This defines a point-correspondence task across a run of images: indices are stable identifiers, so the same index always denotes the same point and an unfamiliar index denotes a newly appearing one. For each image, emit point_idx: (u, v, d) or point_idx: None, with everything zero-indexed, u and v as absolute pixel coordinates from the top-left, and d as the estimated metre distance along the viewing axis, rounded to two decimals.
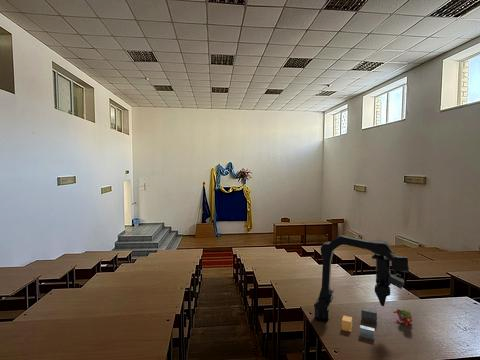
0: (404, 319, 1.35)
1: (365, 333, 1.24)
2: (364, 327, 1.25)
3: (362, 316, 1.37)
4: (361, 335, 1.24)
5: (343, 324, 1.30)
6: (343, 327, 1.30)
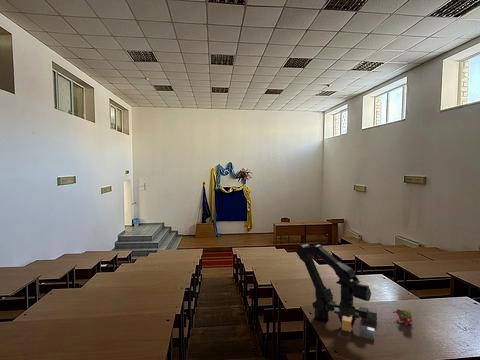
0: (404, 319, 1.35)
1: (365, 333, 1.24)
2: (364, 327, 1.25)
3: None
4: (361, 335, 1.24)
5: (343, 324, 1.30)
6: (343, 327, 1.30)
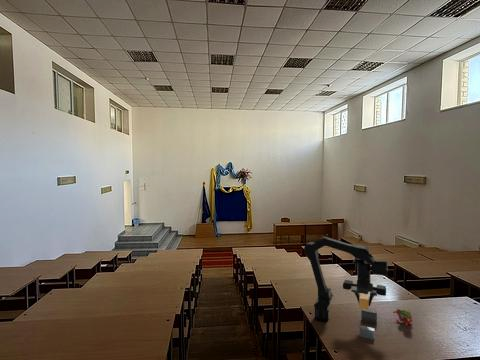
0: (404, 319, 1.35)
1: (365, 333, 1.24)
2: (364, 327, 1.25)
3: (362, 316, 1.37)
4: (361, 335, 1.24)
5: (360, 302, 1.30)
6: (360, 305, 1.30)
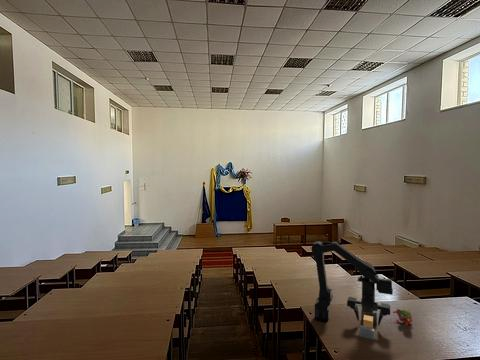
0: (404, 319, 1.35)
1: (365, 333, 1.24)
2: (364, 327, 1.25)
3: (362, 316, 1.37)
4: (361, 335, 1.24)
5: (364, 323, 1.30)
6: None
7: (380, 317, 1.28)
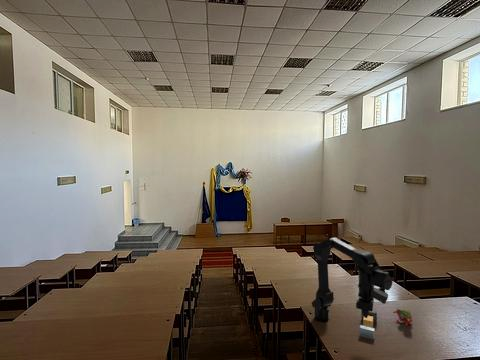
0: (404, 319, 1.35)
1: (365, 333, 1.24)
2: (364, 327, 1.25)
3: (362, 316, 1.37)
4: (361, 335, 1.24)
5: (364, 323, 1.30)
6: None
7: None
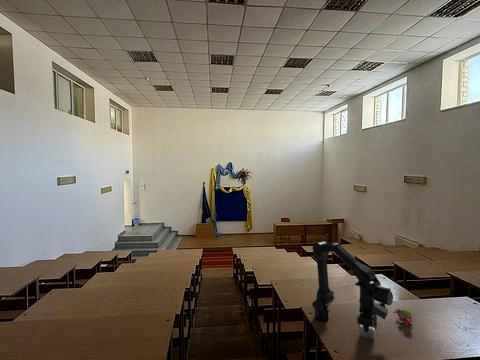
0: (404, 319, 1.35)
1: (365, 332, 1.24)
2: None
3: None
4: (361, 335, 1.25)
5: None
6: None
7: None
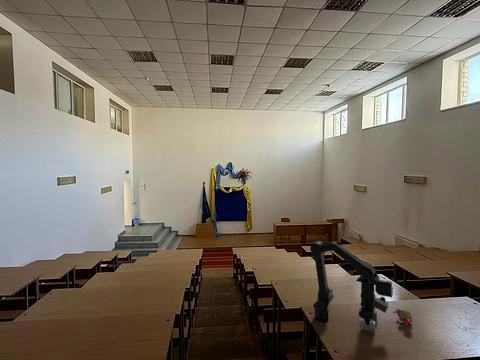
0: (404, 319, 1.35)
1: (366, 326, 1.29)
2: None
3: None
4: (362, 328, 1.30)
5: None
6: None
7: None
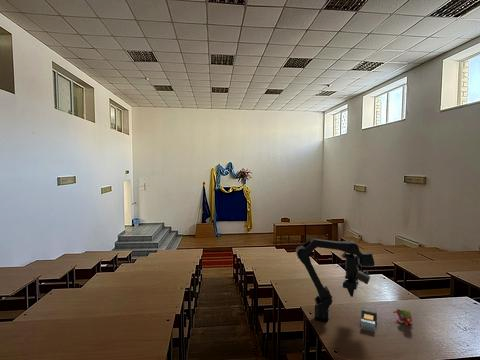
0: (404, 319, 1.35)
1: (366, 326, 1.29)
2: (365, 320, 1.31)
3: (362, 316, 1.37)
4: (362, 328, 1.30)
5: None
6: None
7: None
